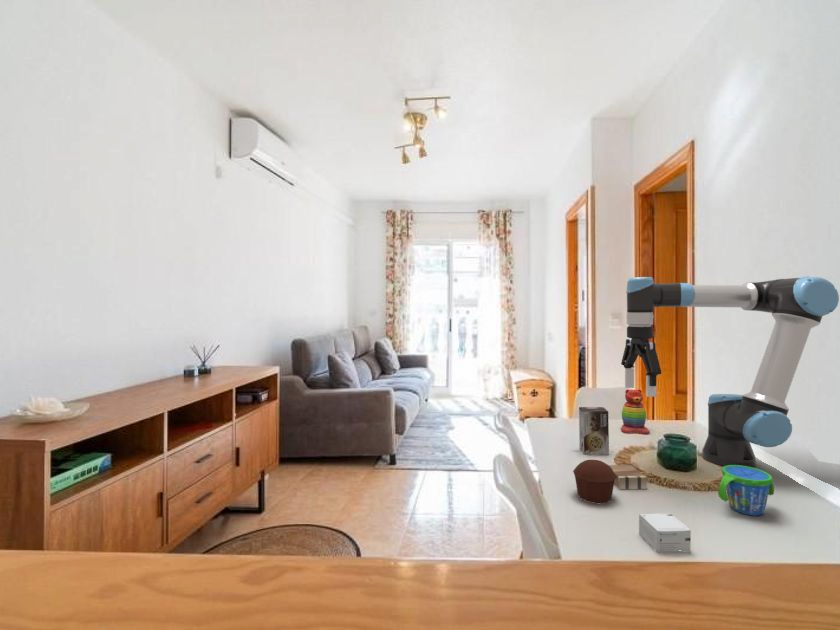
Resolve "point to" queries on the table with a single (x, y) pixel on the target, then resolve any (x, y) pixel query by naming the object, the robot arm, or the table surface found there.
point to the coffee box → (593, 430)
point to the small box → (664, 532)
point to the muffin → (594, 481)
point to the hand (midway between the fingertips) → (639, 391)
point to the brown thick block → (628, 477)
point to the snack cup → (745, 488)
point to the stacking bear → (634, 413)
